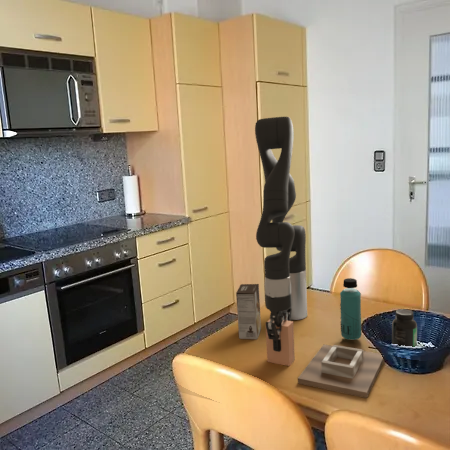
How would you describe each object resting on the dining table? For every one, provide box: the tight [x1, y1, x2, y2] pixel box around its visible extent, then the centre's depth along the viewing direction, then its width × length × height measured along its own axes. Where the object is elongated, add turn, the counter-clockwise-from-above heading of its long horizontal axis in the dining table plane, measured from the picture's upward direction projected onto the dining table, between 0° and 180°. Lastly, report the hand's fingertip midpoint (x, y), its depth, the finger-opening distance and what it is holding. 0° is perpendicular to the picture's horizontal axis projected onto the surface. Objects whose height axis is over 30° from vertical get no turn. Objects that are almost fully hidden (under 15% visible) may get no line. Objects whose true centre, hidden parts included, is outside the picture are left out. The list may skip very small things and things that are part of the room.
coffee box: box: [235, 283, 262, 340], centre depth 157 cm, size 9×6×16 cm
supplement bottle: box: [391, 308, 418, 347], centre depth 139 cm, size 7×7×12 cm
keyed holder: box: [297, 344, 385, 399], centre depth 130 cm, size 22×18×4 cm
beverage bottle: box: [339, 277, 363, 341], centre depth 147 cm, size 6×7×20 cm
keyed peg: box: [265, 318, 296, 367], centre depth 137 cm, size 4×7×12 cm, turn 61°
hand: (280, 347), depth 138 cm, fingers closed on keyed peg, 4 cm apart
